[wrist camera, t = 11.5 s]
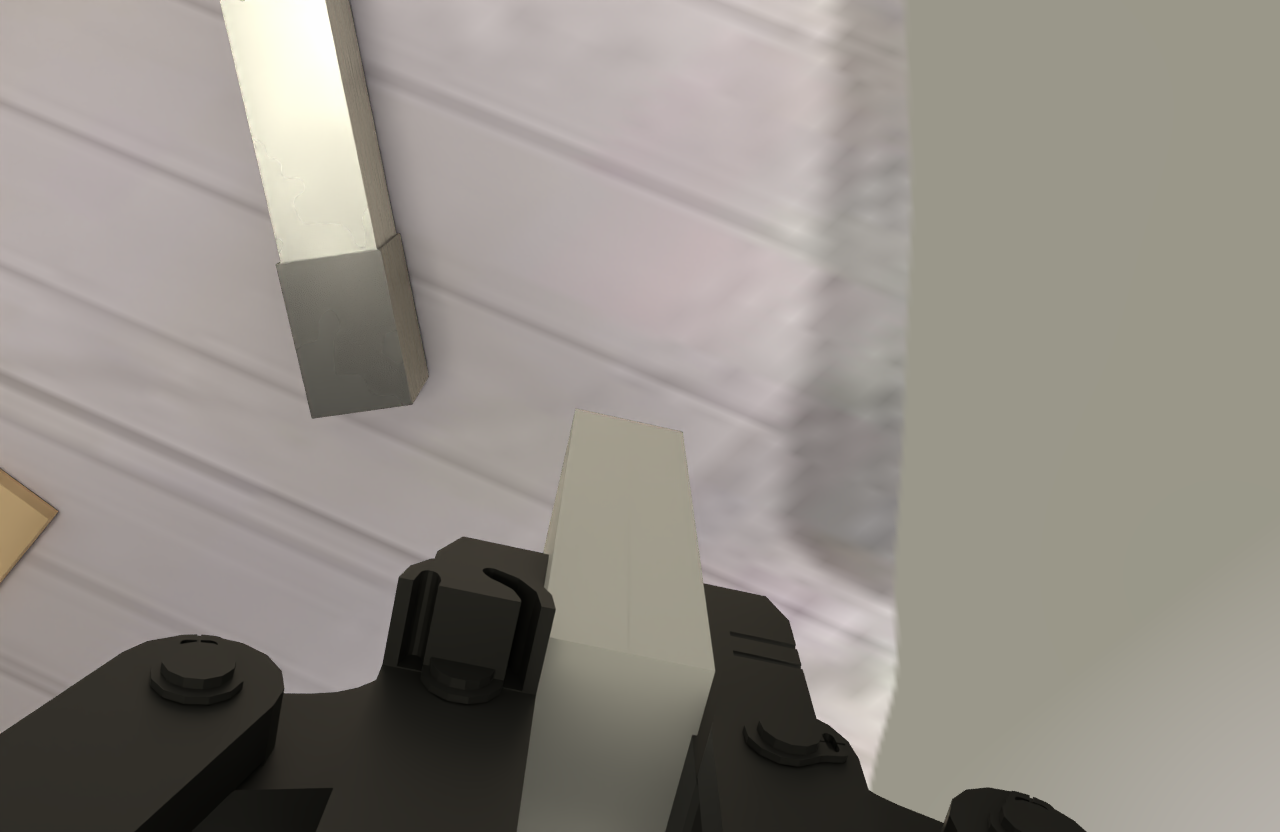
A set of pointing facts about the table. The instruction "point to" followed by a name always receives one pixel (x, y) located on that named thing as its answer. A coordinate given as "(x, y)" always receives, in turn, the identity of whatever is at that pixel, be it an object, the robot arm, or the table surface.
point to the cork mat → (19, 521)
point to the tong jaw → (327, 204)
